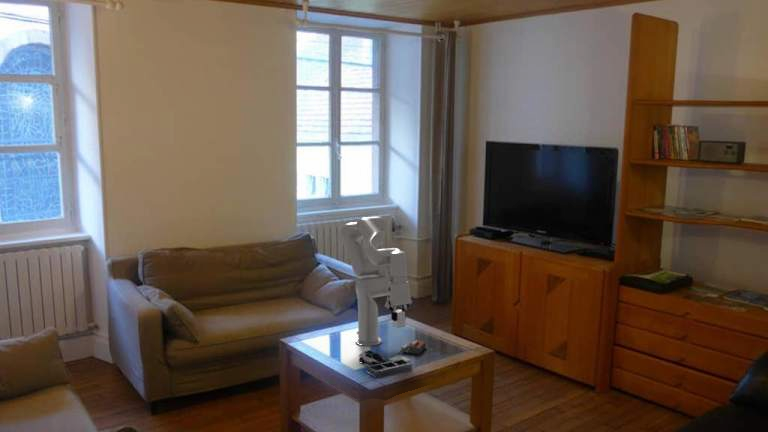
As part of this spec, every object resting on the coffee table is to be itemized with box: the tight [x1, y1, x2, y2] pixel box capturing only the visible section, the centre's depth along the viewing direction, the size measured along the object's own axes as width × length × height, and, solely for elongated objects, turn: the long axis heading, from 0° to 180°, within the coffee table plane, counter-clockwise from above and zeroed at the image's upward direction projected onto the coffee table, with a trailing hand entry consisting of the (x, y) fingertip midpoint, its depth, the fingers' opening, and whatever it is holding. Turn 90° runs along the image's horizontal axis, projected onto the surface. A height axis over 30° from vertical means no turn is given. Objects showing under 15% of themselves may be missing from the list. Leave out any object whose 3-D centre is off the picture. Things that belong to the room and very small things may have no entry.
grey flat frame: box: [366, 358, 413, 378], centre depth 290 cm, size 18×8×2 cm, turn 122°
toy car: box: [358, 350, 387, 365], centre depth 298 cm, size 6×12×5 cm, turn 42°
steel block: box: [392, 308, 406, 329], centre depth 300 cm, size 4×4×7 cm
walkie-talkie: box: [396, 339, 426, 356], centre depth 313 cm, size 9×4×20 cm
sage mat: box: [387, 354, 411, 362], centre depth 303 cm, size 7×7×1 cm
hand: (398, 319), depth 300 cm, fingers closed on steel block, 4 cm apart
